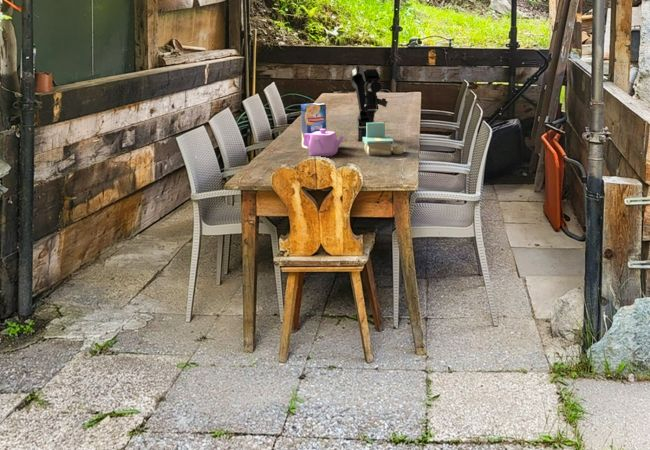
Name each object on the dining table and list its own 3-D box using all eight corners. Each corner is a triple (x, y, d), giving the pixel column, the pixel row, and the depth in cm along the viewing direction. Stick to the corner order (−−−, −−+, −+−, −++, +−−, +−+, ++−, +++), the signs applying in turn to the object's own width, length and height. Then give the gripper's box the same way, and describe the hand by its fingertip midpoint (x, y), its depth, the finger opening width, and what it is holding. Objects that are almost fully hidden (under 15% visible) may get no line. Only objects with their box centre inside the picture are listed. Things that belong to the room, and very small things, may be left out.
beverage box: (326, 146, 439) (326, 104, 433) (307, 148, 434) (306, 105, 428) (320, 144, 444) (319, 102, 439) (301, 146, 439) (300, 104, 434)
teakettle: (329, 149, 430) (329, 125, 426) (346, 154, 415) (346, 129, 412) (300, 153, 422) (299, 128, 419) (316, 158, 407) (315, 132, 404)
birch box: (364, 150, 424) (364, 139, 423) (385, 150, 426) (386, 138, 424) (369, 155, 411) (368, 143, 409) (391, 154, 412) (391, 142, 411)
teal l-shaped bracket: (362, 140, 423) (362, 122, 420) (388, 140, 424) (388, 122, 422) (367, 145, 409) (367, 126, 406) (393, 144, 410) (393, 126, 408)
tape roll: (391, 153, 415) (391, 147, 414) (393, 152, 420) (393, 145, 419) (402, 154, 414) (402, 147, 413) (403, 152, 419) (403, 146, 418)
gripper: (385, 92, 427) (386, 123, 429) (387, 93, 445) (388, 123, 447) (363, 93, 428) (364, 124, 430) (366, 94, 447) (367, 124, 449)
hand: (372, 123), depth 439 cm, fingers closed
